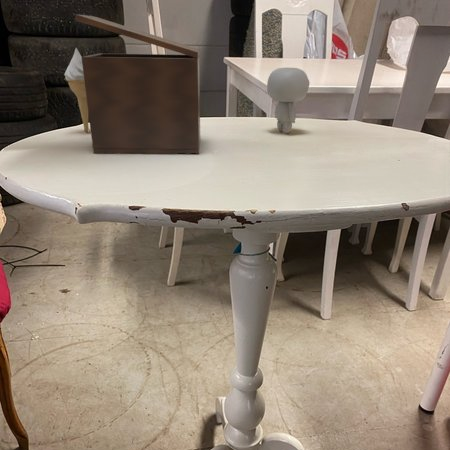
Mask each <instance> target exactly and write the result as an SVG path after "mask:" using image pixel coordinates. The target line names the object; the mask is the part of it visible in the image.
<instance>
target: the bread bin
mask: <svg viewBox="0 0 450 450" xmlns="http://www.w3.org/2000/svg"><path fill="white" fill-rule="evenodd" d="M82 65H83V73H84V81H85V89H86V97H87V105H88V122H89V129H90V138H91V144H92V146H91V147H92V152H93V154H117V155H119V153H120V154H122V155H123V154H127V155H128V154H131V155H132V154H133V155H134V154H135V155H136V154H137V155H139V154H140V155H179V154H178V153H196V154H195V155H199V154H200V147H201V87H200V85H201V84H200V83H201V80H200V79H201V78H200V76H201V75H200V54H199V55H198V57H197V58H195V57H192V56H189V55H185V54H169V53H168V54H164V53H163V54H160V53H94V54H90V55H85V56H82Z"/></svg>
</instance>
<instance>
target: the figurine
mask: <svg viewBox="0 0 450 450" xmlns="http://www.w3.org/2000/svg"><path fill="white" fill-rule="evenodd" d="M309 88H310V79H309V77H308V75H307V73H306V72H305V71H304V70H303V69H301V68H298V67H278V68H276V69H274V70H272V71H271V73H270V74H269V75H268V79H267V83H266V89H267V93H268V96H269V97H270V98H271V100H273V101H276V102H277V104H276V106H275V109H274V118H275V119H276V121H277V123H276V127H277V130H278V131H279V132H281V133H282V132H283V133H285V134H290V133H291V131H292V128H293V124H296V119H297V113H296V106H295V104H294V103H295V102H300V101H302V100H303V99H305V97H306V96H307V94H308V91H309Z"/></svg>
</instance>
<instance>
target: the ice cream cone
mask: <svg viewBox="0 0 450 450" xmlns="http://www.w3.org/2000/svg"><path fill="white" fill-rule="evenodd" d="M82 57H83V56H82V55H81V53H80V52H79V49H78V48H77V47H75V49H74V52H73V56H72V58H71V60H70V62H69V64H68V66H67V68H66V70H65V72H64V74H63V75H64V76H65V77H64V78H65V81H67V83H68V86H69V89H70V91H72V92H73V93H74V95H75V96H76V98H77V103H78V107H79V112H80V116H81V120H82V121H81V122H82V124H83V129H84V132H85V133H89V129H90V126H89V113H88V105H87V97H86V89H85V81H84V73H83V65H82Z"/></svg>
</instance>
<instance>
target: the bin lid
mask: <svg viewBox="0 0 450 450" xmlns="http://www.w3.org/2000/svg"><path fill="white" fill-rule="evenodd" d="M74 15H75V16H74V20H75V21H76V22H79V23H83V24H86V25H89V26H92V27H96V28H99V29H102V30H104V31H108V32H112V33H115V34H118V35H121V36H124V37H127V38H130V39H134V40H138V41H141V42H143V43H146V44H150V45H153V46H156V47H160V48H163V49H167V50H169V51H173V52H176V53H179V54H181V55H189V56H192V57H195V58H197V57H198V55H199V56H200V52H201V51H200V48H197V47H193V46H190V45H187V44H184V43H180V42H177V41H174V40H172V39H171V40H170V39H168V38H165V37H161V36H158V35H155V34H151V33H149V32H145V31H142V30H139V29H136V28H133V27H130V26H127V25H124V24H123V25H122V24H121V23H120V24H119V23H117V22H114V21H110V20H107V19H103V18H101V17H98V16H95V15H94V16H93V15H85V14H79V13H78V14H74Z"/></svg>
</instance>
